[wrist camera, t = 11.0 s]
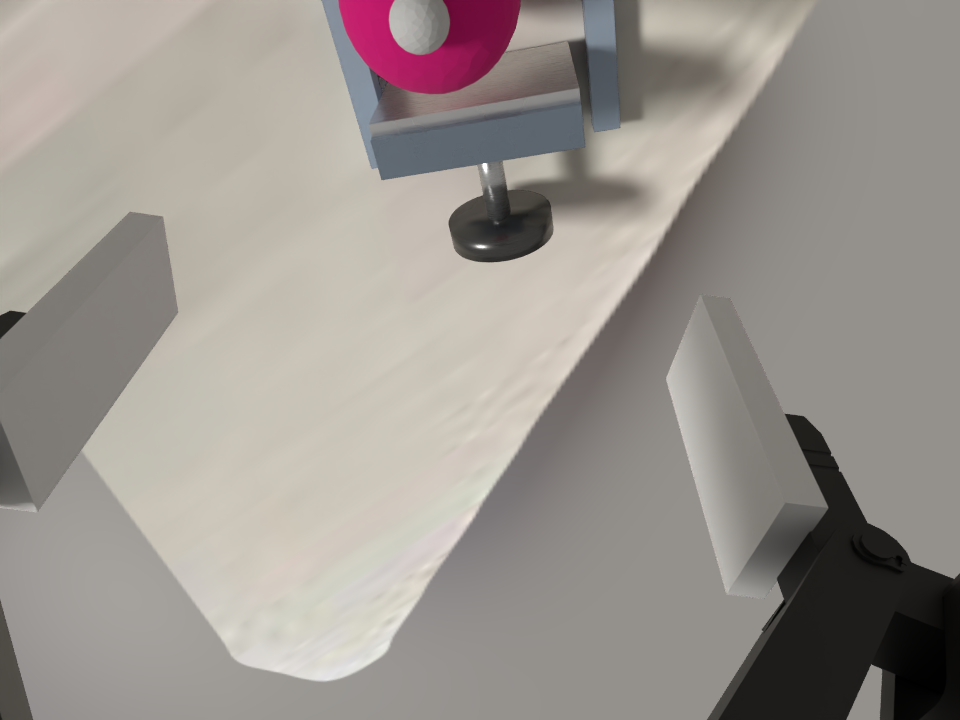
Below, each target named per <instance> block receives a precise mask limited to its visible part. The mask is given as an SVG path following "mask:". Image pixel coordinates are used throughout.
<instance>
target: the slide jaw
mask: <svg viewBox="0 0 960 720" xmlns="http://www.w3.org/2000/svg"><path fill="white" fill-rule="evenodd" d="M369 128H370V132H371V135H372V138H371V141H370V142H371V145H372V149H373V152H374V155H375V159H376V162H377V166H378V169H379V173H380V176H381V180H385V179H392V178H398V177H404V176H410V175H416V174H423V173H429V172H435V171H441V170H447V169H453V168H460V167H466V166H472V165H478V171H479V176H480V181H481V186H482V191H483V196H480V197H477V198H474V199H472V200H470V201H468V202H466V203H465V204H463V205H461V206H460V207H459V208H457V209H456V210H455V211H454V212H453V214H452V215H451V217H450V219H449V228H450V232H451V237H452V241H453V245H454V249H455V251H456V252H457V253H458V254H459V255H461V256H462V257H464V258H466V259H469V260H472V261H478V262H501V261H508V260H512V259H516V258H519V257H523V256H525V255H528V254H530V253H532V252H534V251H536V250H537V249H539V248H541V247H542V246H543V245H545V244H546V243H547V242H548V241H549V239H550V238H551V236H552V234H553V220H552V212H551V205H550V202H549V201H548V200H547V199H546V198H545V197H544V196H542V195H540V194H538V193H535V192H531V191H524V190H508V191H507V185H506V179H505V173H504V167H503V160H509V159H515V158H521V157H528V156H534V155H540V154H546V153H552V152H558V151H565V150H571V149H577V148H583V147H585V140H584V129H583V118H582V106H581V101H580V90H579V85H578V81H577V77H576V73H575V69H574V65H573V61H572V57H571V53H570V49H569V45H568V41H567V42H562V43H557V44H551V45H546V46H540V47H535V48H530V49H524V50H519V51H513V52H508V53H503V55H502V57H501V58H500V60H499V61H498V62H497V64H496V65H495V66H494V67H493V68H492V69H491V70H490V71H489V73H487V74H486V75H485V76H483V77H482V78H481V79H479V80H478V81H476V82H475V83H473V84H471V85H469V86H467V87H464V88H462V89H460V90H458V91H454V92H450V93H445V94H423V93H416V92H410V91H407V90H404V89H401V88H399V87H396V86H394V85H392V84H390V83H389V82H387V85H386V87H385V89H384V91H383V94H382V96H381V98H380V100H379V103H378V105H377V107H376V109H375V111H374V114H373V116H372V118H371V120H370V123H369Z"/></svg>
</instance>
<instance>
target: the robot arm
mask: <svg viewBox="0 0 960 720" xmlns="http://www.w3.org/2000/svg"><path fill="white" fill-rule="evenodd" d="M177 313H178V307H177V301H176V295H175V289H174V283H173V276H172V270H171V264H170V258H169V252H168V245H167V239H166V233H165V227H164V220H163V217H162V216H155V215H148V214H141V213H135V212H129V213H128V214H127V215H126V216H125V217H124V218H123V219H122V220H121V221H120V222H119V223H118V224H117V225H116V226H115V227H114V228H113V229H112V230H111V231H110V232H109V233H108V234H107V235H106V236H105V237H104V238H103V239H102V240H101V241H100V242H99V243H98V244H97V245H96V246H95V247H94V248H93V249H92V250H91V251H90V252H89V253H88V254H86V255H85V256H84V257H83V258H82V259H81V260H80V261H79V262H78V263H77V264H76V265H75V266H74V267H73V268H72V269H71V270H70V271H69V272H68V273H67V274H66V275H65V276H64V277H63V278H62V279H61V280H60V281H59V282H58V283H57V284H56V285H55V286H54V287H53V288H52V289H51V290H50V291H49V292H48V293H47V294H46V295H45V296H44V297H43V298H42V299H41V300H40V301H39V302H38V303H36V304H35V305H34V306H33V307H32V308H31V309H30V310H29V311H28V312H27V313H23V312H16V311H9V312H7V313H5V314H3V315H1V316H0V508H6V509H15V510H24V511H31V512H38V511H39V509H40V508H41V506H42V505H43V504H44V502H45V501H46V499H47V498H48V497H49V495H50V494H51V492H52V491H53V489H54V488H55V486H56V485H57V484H58V482H59V481H60V479H61V478H62V477H63V475H64V474H65V472H66V471H67V469H68V468H69V467H70V465H71V464H72V462H73V461H74V460H75V458H76V457H77V455H78V454H79V452H80V451H81V450H82V448H83V447H84V445H85V444H86V443H87V441H88V440H89V438H90V437H91V435H92V434H93V433H94V431H95V430H96V428H97V427H98V425H99V424H100V423H101V421H102V420H103V418H104V417H105V416H106V414H107V413H108V411H109V410H110V408H111V407H112V406H113V404H114V403H115V401H116V400H117V398H118V397H119V396H120V394H121V393H122V391H123V390H124V389H125V387H126V386H127V384H128V383H129V381H130V380H131V379H132V377H133V376H134V374H135V373H136V372H137V370H138V369H139V367H140V366H141V364H142V363H143V362H144V360H145V359H146V357H147V356H148V354H149V353H150V352H151V350H152V349H153V347H154V346H155V345H156V343H157V342H158V340H159V339H160V337H161V336H162V335H163V333H164V332H165V330H166V329H167V327H168V326H169V325H170V323H171V322H172V320H173V319H174V318H175V316H176V315H177ZM666 380H667V384H668V387H669V391H670V394H671V398H672V402H673V405H674V409H675V412H676V416H677V419H678V423H679V427H680V430H681V434H682V437H683V440H684V444H685V448H686V451H687V455H688V458H689V462H690V466H691V469H692V473H693V476H694V479H695V483H696V487H697V491H698V494H699V498H700V501H701V505H702V508H703V512H704V515H705V519H706V523H707V526H708V530H709V533H710V537H711V540H712V544H713V547H714V551H715V555H716V558H717V562H718V565H719V569H720V572H721V576H722V579H723V583H724V586H725V590H726V594H728V595H736V596H737V595H738V596H745V597H753V598H762V599H765V597H766V596H767V595H768V593H769V592H770V590H771V589H772V588H773V586H774V585H775V583H776V582H777V581H778V583H779V586H780V589H781V592H782V595H783V597H784V600H783V602H782V603H781V604H780V606H779V607H778V608H777V610H776V611H775V612H774V614H773V615H772V617H771V618H770V619H769V621H768V622H767V623H766V625H765V626H764V627H763V629H762V631H763V632H762V634H761V635H760V637H759V639H758V640H757V642H756V643H755V645H754V646H753V648H752V649H751V651H750V653H749V654H748V656H747V657H746V659H745V661H744V662H743V664H742V665H741V667H740V668H739V670H738V672H737V673H736V675H735V676H734V678H733V680H732V681H731V683H730V684H729V686H728V687H727V689H726V691H725V692H724V694H723V695H722V697H721V698H720V700H719V702H718V703H717V705H716V706H715V708H714V710H713V711H712V713H711V715H710V716H709V717H708V719H707V720H846V719H847V717H848V714H849V712H850V710H851V708H852V706H853V703H854V701H855V699H856V697H857V694H858V692H859V690H860V688H861V686H862V683H863V681H864V679H865V677H866V674H867V672H868V670H869V667H870V666H871V664H872V665H874V666H876V667H879V668H881V669H882V689H881V709H880V720H960V574H959V575H958V576H957V577H956V578H955V579H953V578H950V577H947V576H945V575H942V574H940V573H937V572H934V571H932V570H929V569H926V568H924V567H921V566H919V565H916V564H914V563H912V562H911V561H910V559H909V556H908V554H907V552H906V551H905V550H904V549H903V547H902V546H901V545H900V544H899V543H898V542H897V540H895V539H894V538H893V537H891V536H890V535H889V534H887V533H886V532H885V531H883V530H881V529H879V528H877V527H875V526H873V525H871V524H868V523H867V521H866V519H865V517H864V515H863V514H862V511H861V510H860V508H859V506H858V504H857V502H856V500H855V498H854V496H853V494H852V492H851V490H850V488H849V486H848V484H847V482H846V480H845V479H844V477H843V475H842V473H841V472H839V467H838V465H837V463H836V461H835V459H834V457H833V456H831V451H830V449H829V448H828V446H827V443H826V442H825V440H824V438H823V436H822V434H821V433H820V432H819V431H818V430H817V429H816V428H815V427H814V426H813V425H812V424H811V423H810V422H809V421H808V420H807V419H806V418H805V417H804V416H798V415H790V414H784V412H783V410H782V408H781V406H780V403H779V401H778V399H777V397H776V395H775V393H774V391H773V388H772V386H771V384H770V382H769V380H768V378H767V376H766V373H765V372H764V369H763V367H762V365H761V363H760V361H759V359H758V356H757V354H756V352H755V350H754V348H753V346H752V344H751V342H750V339H749V337H748V335H747V333H746V331H745V329H744V327H743V324H742V322H741V320H740V318H739V316H738V314H737V312H736V310H735V307H734V305H733V303H732V301H731V299H730V298H724V297H717V296H710V295H703V294H700V296H699V299H698V301H697V304H696V306H695V309H694V311H693V314H692V316H691V319H690V321H689V323H688V326H687V329H686V331H685V333H684V336H683V338H682V341H681V343H680V346H679V348H678V351H677V353H676V356H675V358H674V361H673V363H672V365H671V368H670V370H669V373H668V375H667V378H666ZM0 720H33V718H32V714H31V710H30V707H29V703H28V699H27V696H26V692H25V689H24V685H23V681H22V678H21V674H20V671H19V667H18V664H17V659H16V656H15V652H14V648H13V645H12V641H11V637H10V634H9V631H8V627H7V623H6V619H5V616H4V612H3V609H2V605H1V601H0Z"/></svg>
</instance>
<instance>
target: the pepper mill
mask: <svg viewBox="0 0 960 720" xmlns="http://www.w3.org/2000/svg"><path fill="white" fill-rule="evenodd" d="M338 1H339V9H340V13H341V17H342V20H343V24H344V27H345V30H346V33H347V35H348V37H349V39H350V41H351V43H352V45H353V46H354V48H355V50H356V52H357V53H358V54H359V55H360V57H361V58H362V59H363V61H364V62H365V63H366V64H367V65H368V66H369V67H370V68H371V69H372V70H373V71H374V72H375V73H376V74H377V75H379V76H380V77H381V78H383V79H384V80H386V81H387V82H389V83H390V84H392V85H394V86H396V87H399V88H401V89H404V90H407V91H410V92H416V93H423V94H445V93H450V92H454V91H458V90H460V89H462V88H464V87H467V86H469V85H471V84H473V83H475V82H476V81H478V80H479V79H481V78H482V77H483V76H485V75H486V74H487V73H489V71H490V70H491V69H492V68H493V67H494V66H495V65H496V64H497V62H498V61H499V60H500V58H501V57H502V55H503V53H504V52H505V50H506V49H507V47H508V45H509V42H510V40H511V38H512V36H513V33H514V31H515V29H516V25H517V20H518V15H519V11H520V0H338Z"/></svg>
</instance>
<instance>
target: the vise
mask: <svg viewBox="0 0 960 720" xmlns="http://www.w3.org/2000/svg"><path fill="white" fill-rule="evenodd" d="M322 3H323V6H324V10H325V13H326V17H327V20H328V23H329V27H330V30H331V33H332V37H333V40H334V44H335V47H336V50H337V54H338V57H339V60H340V64H341V67H342V71H343V74H344V77H345V81H346V84H347V87H348V91H349V94H350V98H351V101H352V104H353V108H354V111H355V114H356V118H357V121H358V125H359V128H360V131H361V135H362V138H363V141H364V145H365V148H366V152H367V155H368V158H369V162H370V165H371V168H372V169H374V168H378V166H377V162H376V159H375V155H374V152H373V149H372V145H371V142H370V141H371V138H372V135H371V132H370V128H369V123H370V120H371V118H372V116H373V114H374V111H375V109H376V107H377V105H378V103H379V100H380V98H381V96H382V91H381V88H380V84H379V80H378V76H377V74H376V73H375V72H374V71H373V70H372V69H371V68H370V67H369V66H368V65H367V64H366V63H365V62H364V61H363V59H362V58H361V57H360V55H359V54H358V53H357V52H356V50H355V48H354V46H353V45H352V43H351V41H350V39H349V37H348V35H347V33H346V30H345V27H344V24H343V20H342V17H341V13H340V9H339V1H338V0H322ZM582 5H583V18H584V30H585V43H586V56H587V68H588V81H589V93H590V106H591V118H592V125H593V129H594V132H599V131H605V130H611V129H617V128H620V112H619V93H618V75H617V56H616V37H615V19H614V0H582Z"/></svg>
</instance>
